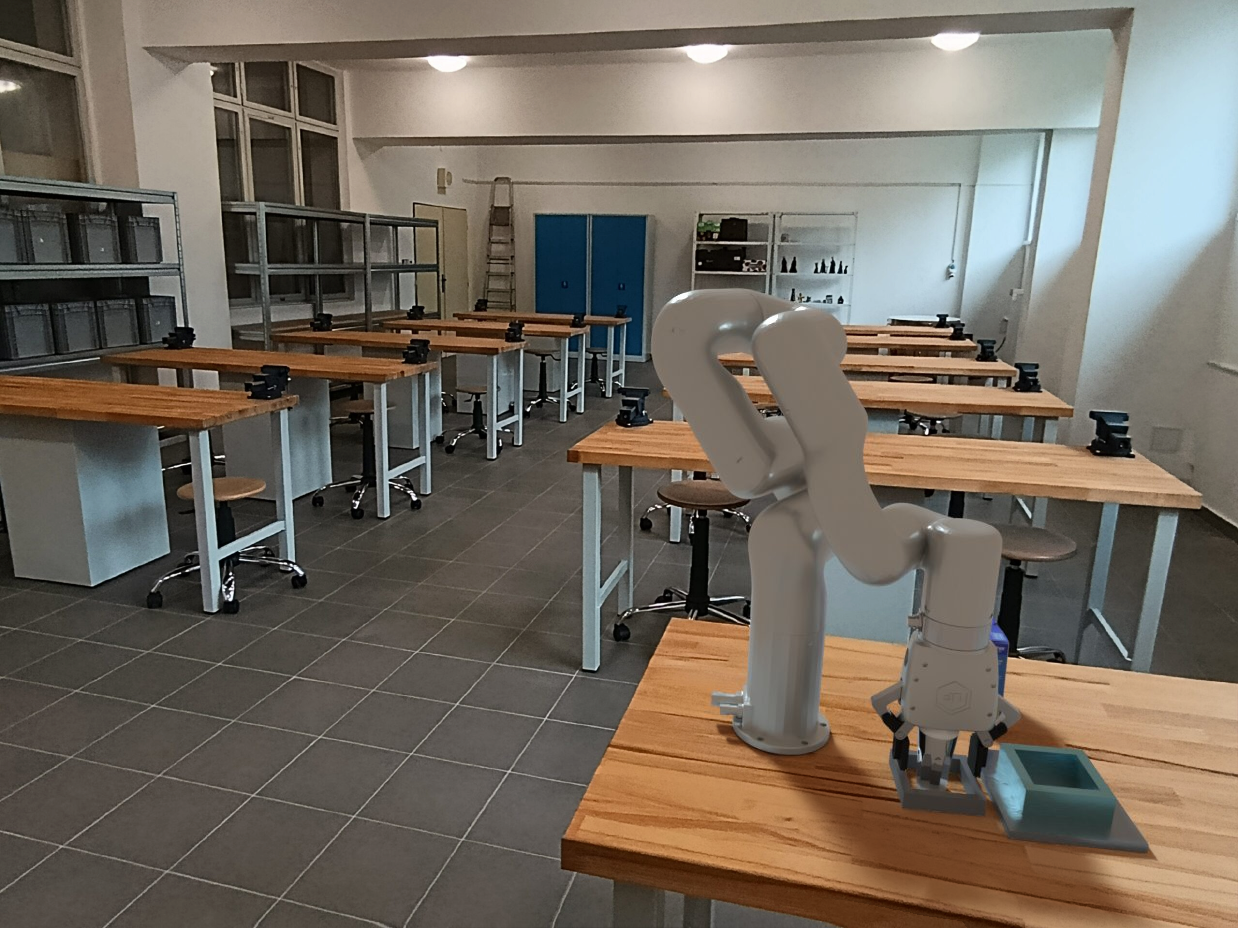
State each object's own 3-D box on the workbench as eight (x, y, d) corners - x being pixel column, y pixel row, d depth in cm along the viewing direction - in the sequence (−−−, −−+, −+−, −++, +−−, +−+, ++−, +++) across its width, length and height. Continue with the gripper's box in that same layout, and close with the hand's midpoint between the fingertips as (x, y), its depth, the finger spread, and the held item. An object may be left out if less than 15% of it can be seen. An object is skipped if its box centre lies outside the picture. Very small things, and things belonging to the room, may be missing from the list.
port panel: (1008, 838, 91) (1013, 806, 90) (969, 754, 106) (973, 726, 105) (1147, 852, 89) (1153, 819, 88) (1087, 765, 105) (1092, 736, 104)
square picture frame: (902, 808, 96) (903, 792, 95) (888, 762, 104) (890, 748, 104) (985, 816, 95) (987, 800, 94) (964, 769, 103) (966, 755, 103)
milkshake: (961, 803, 97) (972, 725, 94) (913, 796, 98) (922, 719, 95) (954, 779, 101) (964, 704, 99) (908, 773, 102) (916, 699, 100)
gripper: (879, 637, 92) (865, 779, 96) (1047, 649, 90) (1025, 794, 94) (869, 609, 99) (856, 742, 104) (1024, 620, 97) (1005, 756, 101)
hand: (937, 766), depth 99 cm, fingers open, 7 cm apart
